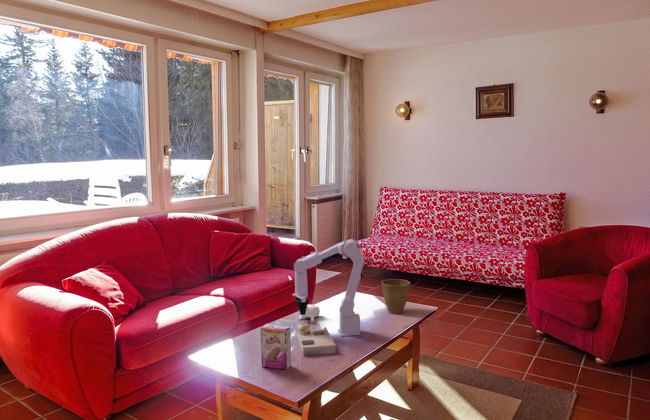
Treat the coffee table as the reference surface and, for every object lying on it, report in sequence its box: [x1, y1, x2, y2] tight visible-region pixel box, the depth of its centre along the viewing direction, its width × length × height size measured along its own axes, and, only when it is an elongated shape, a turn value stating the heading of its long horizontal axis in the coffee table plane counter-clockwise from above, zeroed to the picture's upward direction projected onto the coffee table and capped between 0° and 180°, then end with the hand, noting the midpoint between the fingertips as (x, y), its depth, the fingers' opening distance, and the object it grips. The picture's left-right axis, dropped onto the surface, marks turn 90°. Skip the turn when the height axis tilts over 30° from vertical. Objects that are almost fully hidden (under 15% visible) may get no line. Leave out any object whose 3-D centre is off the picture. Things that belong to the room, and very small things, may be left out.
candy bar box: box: [260, 323, 292, 371], centre depth 203 cm, size 11×5×16 cm, turn 71°
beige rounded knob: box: [297, 323, 311, 335], centre depth 235 cm, size 5×5×4 cm
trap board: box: [295, 326, 337, 357], centre depth 226 cm, size 14×24×4 cm, turn 10°
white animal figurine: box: [297, 303, 321, 323], centre depth 260 cm, size 9×8×15 cm
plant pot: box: [381, 278, 411, 315], centre depth 269 cm, size 15×15×16 cm
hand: (301, 312), depth 241 cm, fingers open, 6 cm apart
